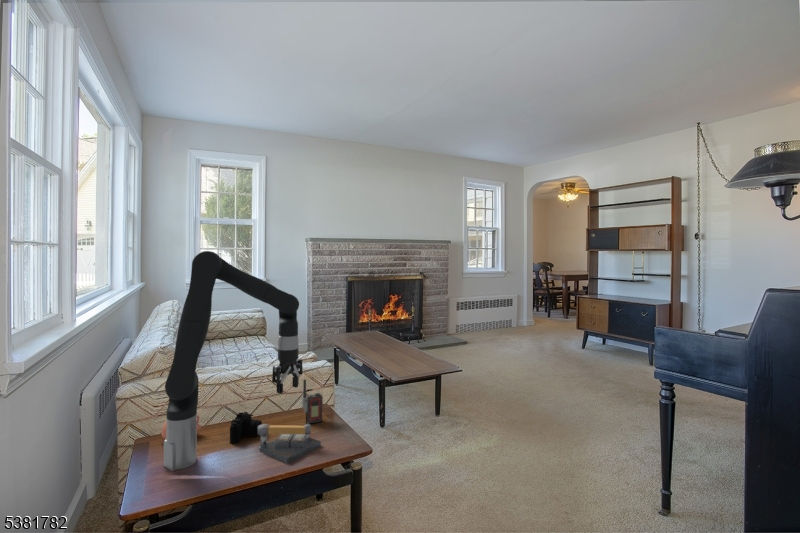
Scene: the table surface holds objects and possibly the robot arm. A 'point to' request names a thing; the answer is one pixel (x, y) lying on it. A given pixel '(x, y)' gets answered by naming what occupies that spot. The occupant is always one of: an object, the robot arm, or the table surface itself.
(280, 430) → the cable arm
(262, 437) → the post
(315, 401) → the walkie-talkie
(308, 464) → the table surface
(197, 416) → the sugar bowl
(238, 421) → the film camera
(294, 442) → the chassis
